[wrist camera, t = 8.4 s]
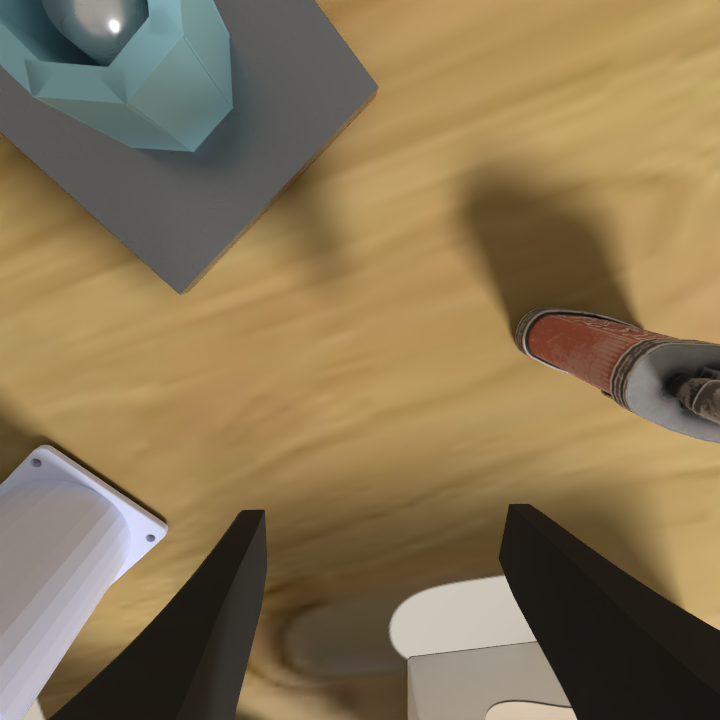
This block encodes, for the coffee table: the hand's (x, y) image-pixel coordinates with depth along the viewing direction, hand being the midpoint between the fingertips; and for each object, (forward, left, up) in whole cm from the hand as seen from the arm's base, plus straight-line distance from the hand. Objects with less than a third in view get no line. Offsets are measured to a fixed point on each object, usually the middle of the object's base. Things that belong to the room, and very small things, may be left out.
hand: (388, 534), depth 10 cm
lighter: (+11, -6, -10) cm, 16 cm away
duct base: (+4, +16, -9) cm, 19 cm away
